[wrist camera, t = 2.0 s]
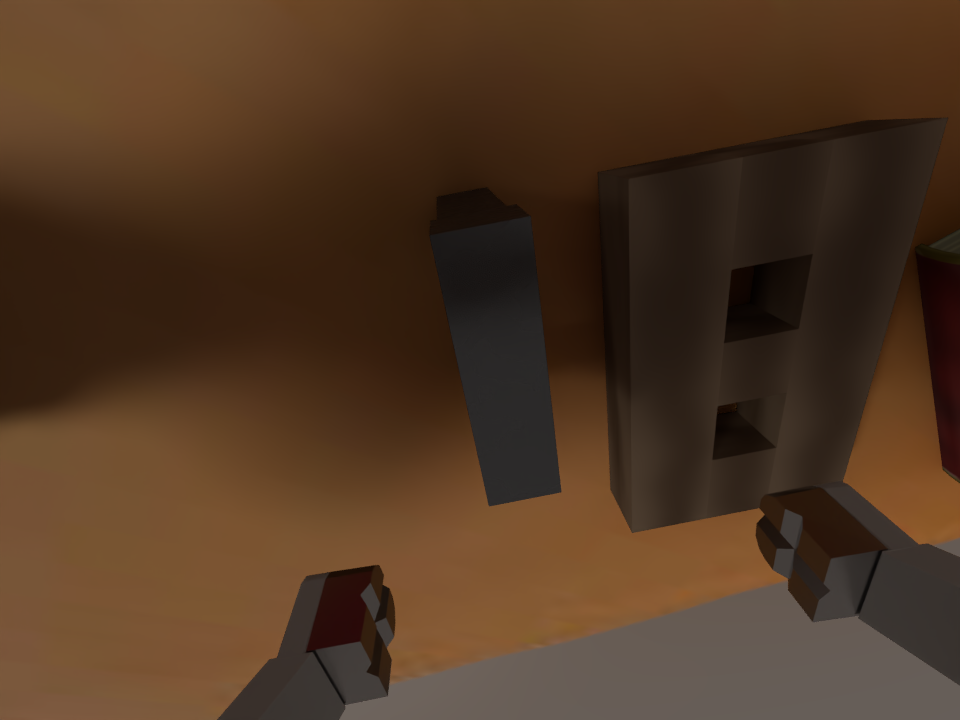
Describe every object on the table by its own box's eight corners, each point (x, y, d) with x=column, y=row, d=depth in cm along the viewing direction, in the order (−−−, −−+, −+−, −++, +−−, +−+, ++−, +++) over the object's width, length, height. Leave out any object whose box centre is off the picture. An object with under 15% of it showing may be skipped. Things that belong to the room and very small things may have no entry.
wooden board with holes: (610, 489, 32) (632, 532, 29) (597, 172, 22) (628, 179, 19) (795, 453, 33) (839, 492, 29) (866, 120, 22) (948, 117, 19)
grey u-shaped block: (470, 379, 27) (489, 506, 18) (431, 193, 22) (429, 235, 13) (517, 370, 27) (561, 492, 18) (490, 182, 22) (530, 215, 13)
